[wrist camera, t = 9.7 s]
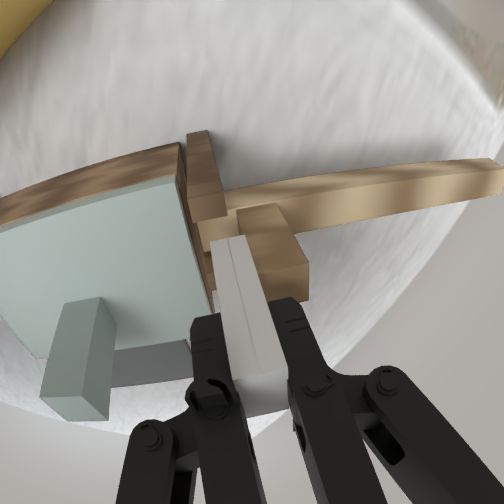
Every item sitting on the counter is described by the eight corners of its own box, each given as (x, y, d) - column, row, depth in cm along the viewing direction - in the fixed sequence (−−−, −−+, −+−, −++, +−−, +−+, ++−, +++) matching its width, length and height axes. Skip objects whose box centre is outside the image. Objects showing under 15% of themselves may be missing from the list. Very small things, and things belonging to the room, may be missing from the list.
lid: (38, 349, 23) (19, 433, 16) (-35, 240, 16) (-91, 327, 8) (214, 322, 25) (232, 424, 18) (175, 174, 17) (169, 276, 10)
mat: (77, 387, 39) (77, 390, 38) (22, 323, 30) (21, 326, 29) (199, 372, 41) (200, 376, 40) (167, 297, 32) (167, 301, 31)
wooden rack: (39, 303, 29) (11, 392, 19) (-17, 200, 21) (-82, 280, 11) (231, 265, 31) (256, 366, 21) (206, 130, 23) (223, 191, 13)
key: (201, 230, 18) (213, 323, 12) (194, 197, 17) (201, 283, 11) (484, 181, 20) (543, 227, 14) (488, 158, 19) (552, 200, 13)
